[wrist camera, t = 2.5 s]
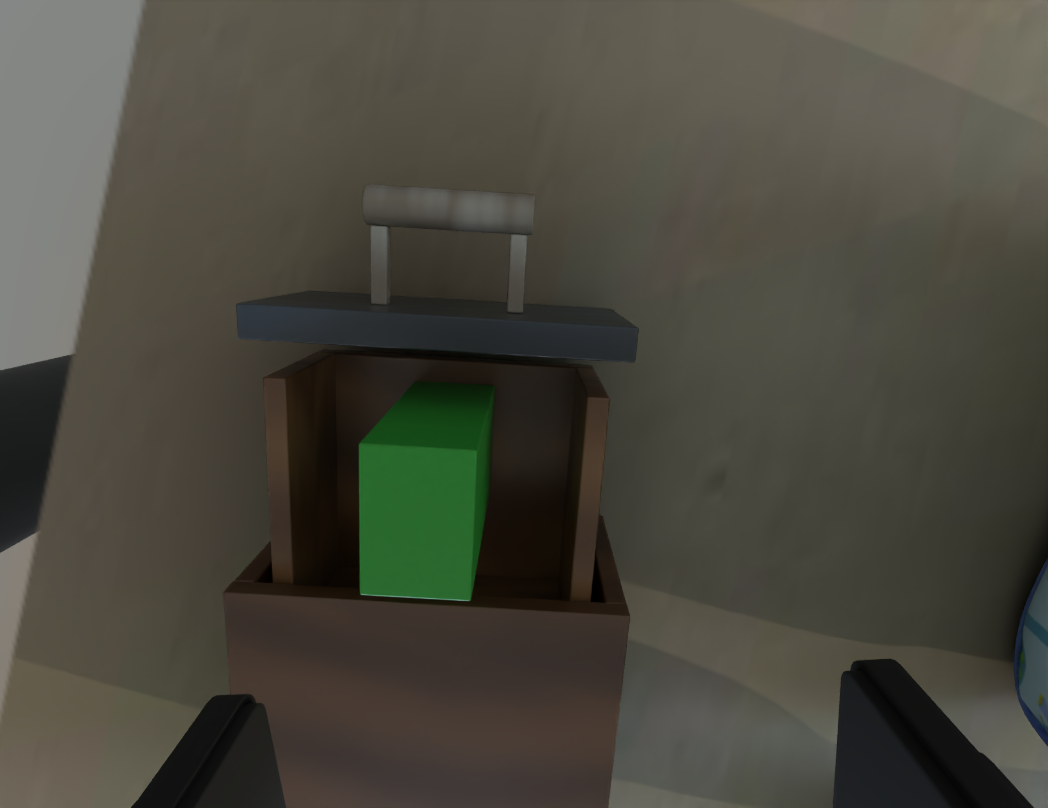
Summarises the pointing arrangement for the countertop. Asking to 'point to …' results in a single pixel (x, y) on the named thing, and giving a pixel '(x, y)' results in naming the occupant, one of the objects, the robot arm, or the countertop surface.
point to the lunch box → (1034, 656)
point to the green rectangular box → (426, 492)
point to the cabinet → (433, 692)
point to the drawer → (455, 326)
